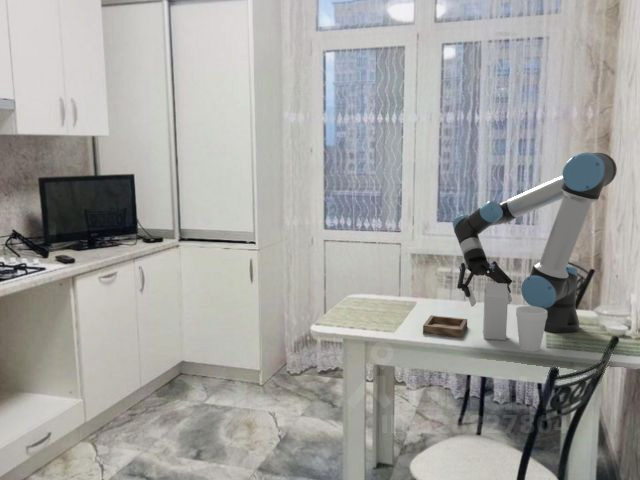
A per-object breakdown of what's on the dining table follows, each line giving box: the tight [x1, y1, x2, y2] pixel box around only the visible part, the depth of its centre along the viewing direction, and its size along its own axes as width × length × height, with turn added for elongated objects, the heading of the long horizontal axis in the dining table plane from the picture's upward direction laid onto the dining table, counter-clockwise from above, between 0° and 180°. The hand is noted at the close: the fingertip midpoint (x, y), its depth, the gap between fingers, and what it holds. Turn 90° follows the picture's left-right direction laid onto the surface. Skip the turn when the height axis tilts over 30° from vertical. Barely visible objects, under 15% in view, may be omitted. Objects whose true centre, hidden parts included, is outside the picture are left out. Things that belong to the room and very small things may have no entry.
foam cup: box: [515, 305, 548, 353], centre depth 190 cm, size 10×9×13 cm
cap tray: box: [422, 314, 468, 339], centre depth 210 cm, size 13×13×3 cm
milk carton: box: [482, 282, 509, 341], centre depth 201 cm, size 7×7×19 cm
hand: (492, 303), depth 202 cm, fingers open, 13 cm apart
